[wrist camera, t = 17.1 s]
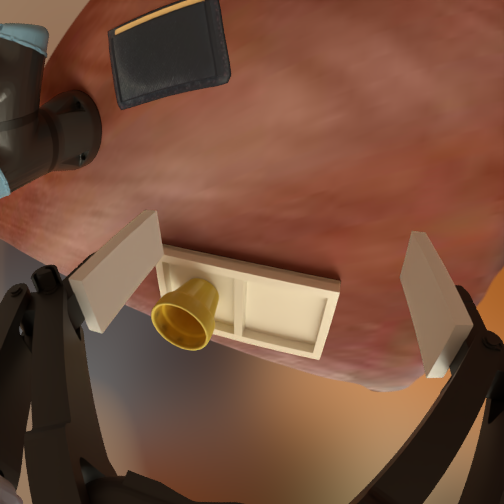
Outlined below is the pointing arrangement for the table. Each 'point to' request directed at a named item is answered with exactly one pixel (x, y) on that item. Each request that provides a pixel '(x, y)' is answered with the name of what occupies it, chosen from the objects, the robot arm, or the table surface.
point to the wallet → (169, 52)
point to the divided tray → (258, 300)
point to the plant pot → (187, 314)
